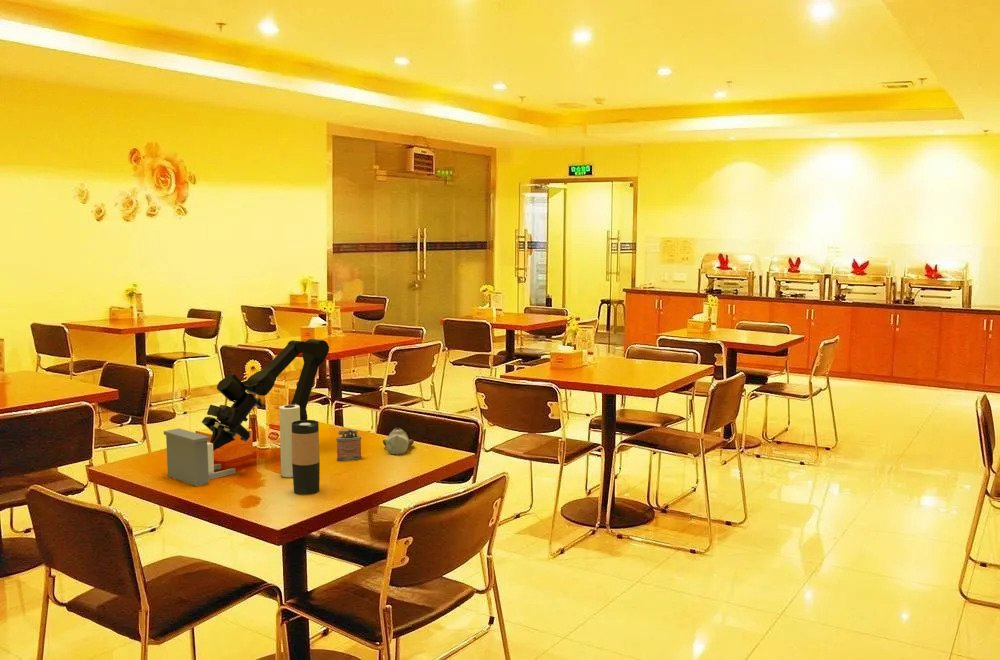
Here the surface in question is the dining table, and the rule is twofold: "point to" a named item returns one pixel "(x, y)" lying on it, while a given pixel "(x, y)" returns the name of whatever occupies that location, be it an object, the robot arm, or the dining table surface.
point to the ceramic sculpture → (397, 441)
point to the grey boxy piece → (190, 458)
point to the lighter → (348, 445)
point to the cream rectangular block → (210, 458)
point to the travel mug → (305, 457)
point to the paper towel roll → (287, 436)
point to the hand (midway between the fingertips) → (209, 451)
